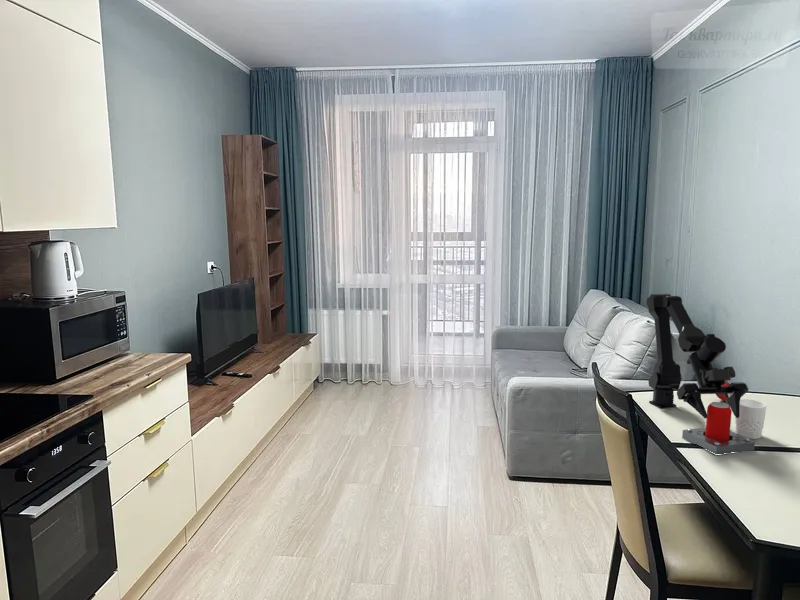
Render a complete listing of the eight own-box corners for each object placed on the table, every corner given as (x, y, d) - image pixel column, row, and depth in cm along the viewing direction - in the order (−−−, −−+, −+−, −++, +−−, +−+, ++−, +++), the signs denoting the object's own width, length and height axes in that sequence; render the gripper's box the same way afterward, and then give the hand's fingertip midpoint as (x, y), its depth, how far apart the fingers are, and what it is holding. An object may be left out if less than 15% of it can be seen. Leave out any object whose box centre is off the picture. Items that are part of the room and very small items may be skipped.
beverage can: (715, 438, 169) (718, 399, 167) (733, 446, 163) (737, 406, 161) (699, 441, 167) (702, 402, 165) (717, 449, 161) (720, 409, 159)
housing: (682, 437, 169) (682, 428, 169) (718, 433, 172) (718, 423, 172) (716, 455, 157) (716, 445, 156) (754, 450, 160) (755, 439, 159)
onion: (717, 403, 198) (719, 381, 197) (711, 398, 204) (713, 376, 203) (735, 404, 198) (737, 382, 196) (729, 398, 203) (730, 377, 202)
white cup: (761, 432, 173) (764, 400, 171) (765, 441, 166) (768, 409, 164) (731, 428, 176) (734, 397, 175) (734, 437, 169) (737, 405, 168)
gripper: (684, 357, 165) (701, 406, 155) (747, 356, 165) (769, 404, 155) (669, 375, 174) (685, 422, 164) (729, 374, 174) (749, 421, 164)
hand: (722, 417), depth 162 cm, fingers open, 9 cm apart
